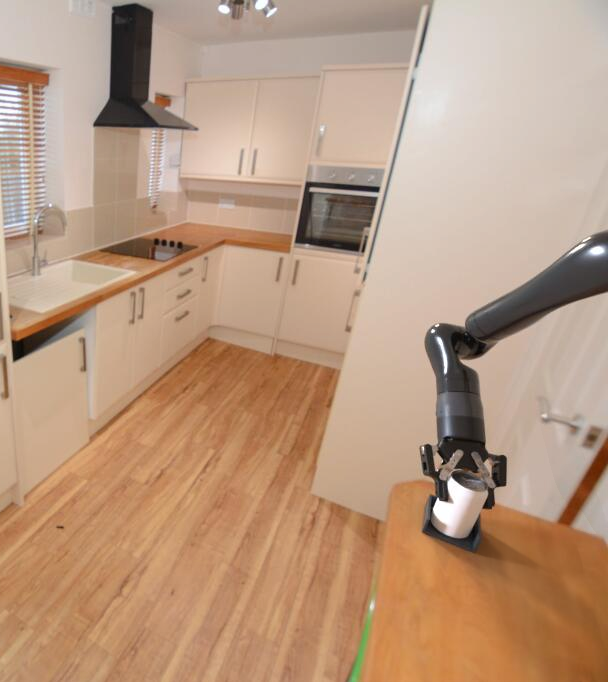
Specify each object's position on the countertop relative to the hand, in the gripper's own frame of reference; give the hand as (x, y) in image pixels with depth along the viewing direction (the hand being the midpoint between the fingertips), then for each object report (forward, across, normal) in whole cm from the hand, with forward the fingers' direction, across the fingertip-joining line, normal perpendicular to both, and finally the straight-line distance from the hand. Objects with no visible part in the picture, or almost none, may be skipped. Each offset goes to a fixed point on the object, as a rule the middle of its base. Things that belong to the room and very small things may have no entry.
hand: (465, 505), depth 86 cm
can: (+4, 0, +6) cm, 8 cm away
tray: (+4, 0, +7) cm, 8 cm away
